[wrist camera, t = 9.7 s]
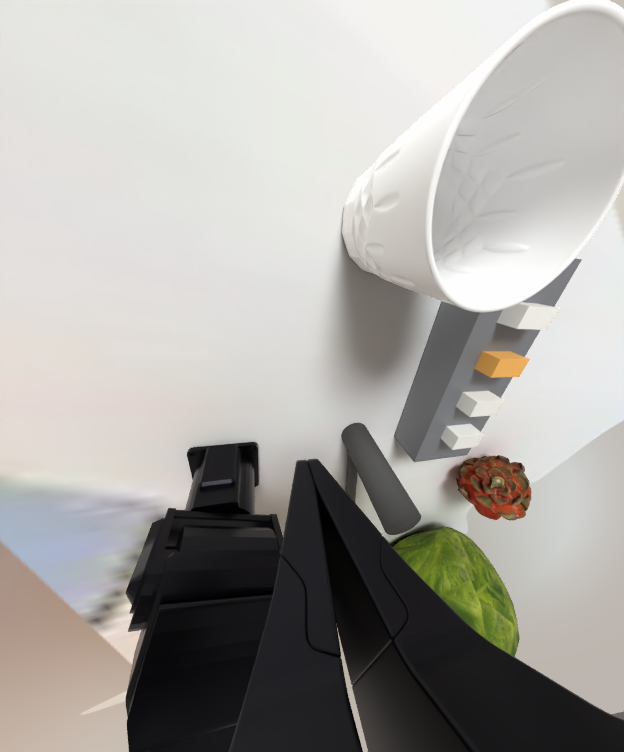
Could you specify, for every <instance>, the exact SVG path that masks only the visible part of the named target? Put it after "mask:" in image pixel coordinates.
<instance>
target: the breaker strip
mask: <svg viewBox="0 0 624 752" xmlns="http://www.w3.org/2000/svg"><path fill="white" fill-rule="evenodd" d="M580 262H581V259H574V260H573V261H572V263H571V264H570V265H569V266H568V267H567V268H566V269H565V270H564V271H563V272H562V273H561V274H560V275H559V276H557V277H556V278H555V279H554V280H553V281H552V282H551V283H549V284H548V285H547V286H546V287H544V288H543V289H542V290H540V291H539V292H537V293H536V294H534V295H533V296H531V297H530V298H528V299H526V300H524V301H523V302H521V303H519V304H516V305H514V306H512V307H509V308H506V309H503V310H499V311H494V312H485V313H480V312H471V311H467V310H464V309H461V308H459V307H456V306H453V305H451V304H448V303H445V302H442V303H441V305H440V308H439V311H438V314H437V317H436V320H435V322H434V325H433V328H432V331H431V334H430V336H429V339H428V342H427V345H426V348H425V351H424V353H423V356H422V359H421V362H420V365H419V368H418V370H417V373H416V376H415V379H414V382H413V384H412V387H411V390H410V393H409V396H408V399H407V401H406V404H405V407H404V410H403V413H402V416H401V418H400V421H399V424H398V427H397V430H396V432H395V435H394V436H395V437H396V439H397V440H398V441H399V443H400V444H401V445H402V447H403V448H404V449H405V451H406V452H407V453H408V455H409V456H410V457H411V459H412V460H413V461H414V462H418V461H425V460H433V459H440V458H448V457H456V456H463V455H467V454H468V452H469V451H470V449H471V448H472V447H477V446H478V444H479V442H480V441H481V439H482V438H483V436H484V434H483V433H481V430H482V428H483V427H484V425H485V423H486V422H487V420H488V418H489V417H490V415H496V414H497V413H498V411H499V409H500V408H501V406H502V404H503V403H504V401H505V400H503V399H501V396H502V394H503V393H504V391H505V389H506V388H507V386H508V384H509V382H510V381H511V379H512V377H519V376H520V374H521V373H522V371H523V369H524V368H525V366H526V365H527V363H528V361H529V360H530V359H528V358H526V357H525V355H526V354H527V352H528V350H529V348H530V347H531V345H532V343H533V342H534V340H535V338H536V337H537V335H538V333H539V331H540V330H548V328H549V326H550V325H551V323H552V321H553V320H554V318H555V316H556V315H557V313H558V311H559V310H560V308H557V307H554V306H555V304H556V303H557V301H558V299H559V297H560V296H561V294H562V292H563V291H564V289H565V287H566V286H567V284H568V282H569V280H570V279H571V277H572V275H573V274H574V272H575V270H576V269H577V267H578V265H579V263H580Z"/></svg>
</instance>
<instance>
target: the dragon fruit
mask: <svg viewBox="0 0 624 752" xmlns="http://www.w3.org/2000/svg"><path fill="white" fill-rule="evenodd" d="M524 471H525V468H524V466H523V465H522V463H517V462H513V463H511V464H510V462H509V459H508V458H506V457H503V456H499V455H498V456H488V457H487V456H485V457H483V458H482V459H481V458H472V459H470V460H467V461H465V462H464V463H463V466H462V468H461V471H460V475H459V480H458V479H457V478H456V479H457V484H458V487H459V489H458V490H459V491H460V493H461V494H462V495H463V496H464V497H465V498H466V499H467V500H468V501H469V502H470V503H472V504H473V505H474V506H475V508H476V510H477V511H478V512H479V513H480V514H481V515H483V516H485V517H488V518H490V519H494V520H497V519H499V518H500V517H501V516H502V517H504V518H505V519H507V520H516V519H518V518H523V517H524V516H525V515H526V513H525V511H526V510H527V509H528V506H529V503H530V500H531V488H530V487H529V480H528V479H527V477H526V475H525V474H524Z"/></svg>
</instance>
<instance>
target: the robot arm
mask: <svg viewBox="0 0 624 752" xmlns="http://www.w3.org/2000/svg"><path fill="white" fill-rule="evenodd" d="M252 447H253V448H252ZM187 457H188V461H189V466H190V470H191V474H192V478H193V482H192V486H191V490H190V494H189V497H188V501H187V505H186V509H185V510H176V509H175V508H168V511H167V514H166V517H165V518H162V519H161V520H158V521H156V522H154V523H152V526H151V528H150V531H149V534H148V536H147V539H146V542H145V545H144V547H143V550H142V552H141V555H140V557H139V560H138V562H137V565H136V567H135V570H134V572H133V575H132V577H131V580H130V582H129V585H128V588H127V591H126V595H127V597H128V599H129V601H130V602H131V604H132V608H131V610H130V613H134V614H133V617H132V620H131V623H130V626H129V629H128V632H131V631H139V630H141V633H140V637H139V640H138V643H137V647H136V650H135V654H134V659H133V664H132V670H131V675H130V680H129V685H128V690H127V695H126V709H127V715H128V720H127V731H128V732H127V733H128V744H129V752H363V751H362V747H361V743H360V740H359V736H358V732H357V728H356V725H355V721H354V717H353V713H352V709H351V706H350V702H349V698H348V693H347V688H346V683H345V677H344V672H343V666H342V660H341V658H340V657H341V652H340V645H339V639H338V632H339V636H340V640H341V644H342V648H343V652H344V655H345V660H346V664H347V668H348V672H349V676H350V680H351V684H352V685H353V686H352V688H353V692H354V696H355V700H356V704H357V708H358V712H359V716H360V720H361V724H362V728H363V732H364V736H365V740H366V744H367V748H368V752H624V712H621V713H616V714H609V713H607V712H605V711H603V710H601V709H599V708H598V707H596V706H594V705H592V704H590V703H589V702H587V701H586V700H584V699H582V698H581V697H579V696H577V695H576V694H574V693H573V692H571V691H569V690H568V689H566V688H564V687H563V686H561V685H559V684H558V683H556V682H554V681H553V680H551V679H550V678H548V677H546V676H544V675H543V674H541V673H540V672H538V671H536V670H535V669H533V668H531V667H530V666H528V665H526V664H525V663H523V662H522V661H520V660H518V659H517V658H515V657H513V656H512V655H510V654H508V653H507V652H505V651H503V650H502V649H500V648H499V647H497V646H495V645H494V644H492V643H491V642H489V641H488V640H487V639H485V638H484V637H483V636H481V635H480V634H479V633H478V632H476V631H475V630H474V629H473V628H472V627H470V626H469V625H468V624H467V623H466V622H465V621H464V620H463V619H462V618H461V617H460V616H459V615H458V614H457V613H456V612H455V611H454V610H453V609H452V608H451V607H450V606H449V605H448V604H447V603H446V602H445V601H444V600H443V599H442V598H441V597H440V596H439V595H438V594H437V593H436V592H435V591H434V590H433V589H432V588H431V587H430V586H429V585H428V584H427V583H426V582H425V581H424V580H423V579H422V578H421V577H420V576H419V575H418V574H417V573H416V572H415V571H414V570H413V569H412V568H411V567H410V566H409V565H408V564H407V563H406V562H405V561H404V560H403V558H402V557H401V556H400V555H399V554H398V553H397V552H396V551H395V549H394V548H393V547H392V546H391V545H390V544H389V542H388V541H387V540H386V539H385V538H384V537H383V536H382V535H381V533H380V532H379V531H378V530H377V528H376V527H375V526H374V525H373V524H372V523H371V521H370V520H369V519H368V518H367V517H366V515H365V514H364V513H363V512H362V511H361V510H360V508H359V507H358V506H357V505H356V504H355V503H354V501H353V500H352V499H351V498H350V497H349V495H348V494H347V493H346V492H345V491H344V490H343V488H342V487H341V486H340V485H339V484H338V482H337V481H336V480H335V479H334V478H333V477H332V475H331V474H330V473H329V472H328V471H327V470H326V468H325V467H324V466H323V465H322V464H321V462H320V461H319V460H318V459H309V460H298V461H297V462H296V467H295V473H294V479H293V485H292V490H291V496H290V502H289V508H288V514H287V520H286V526H285V531H284V537H283V536H282V532H281V529H280V525H279V522H278V518H277V515H276V514H270V515H258V514H254V487H256V486H258V484H259V478H258V445H257V443H255V442H248V443H237V444H226V445H215V446H204V447H193V448H190V449H189V450H188V452H187ZM130 613H129V614H130ZM336 624H337V625H336ZM337 628H338V632H337Z"/></svg>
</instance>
